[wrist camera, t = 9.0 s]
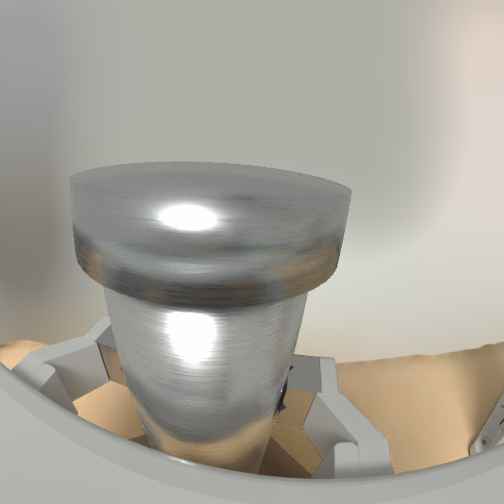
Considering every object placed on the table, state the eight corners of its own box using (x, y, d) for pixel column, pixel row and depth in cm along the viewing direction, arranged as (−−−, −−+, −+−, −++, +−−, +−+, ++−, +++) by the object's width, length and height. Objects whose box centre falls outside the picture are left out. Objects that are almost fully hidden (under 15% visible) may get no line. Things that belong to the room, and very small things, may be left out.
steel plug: (225, 409, 15) (244, 162, 10) (289, 477, 10) (400, 198, 5) (136, 443, 11) (71, 168, 6) (189, 529, 7) (65, 216, 2)
